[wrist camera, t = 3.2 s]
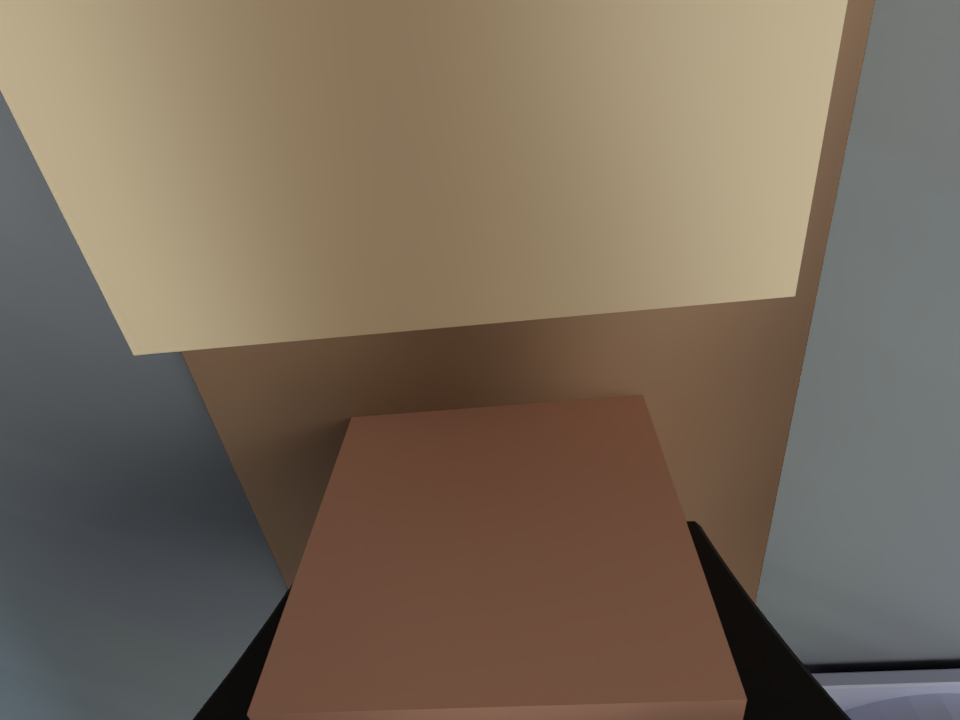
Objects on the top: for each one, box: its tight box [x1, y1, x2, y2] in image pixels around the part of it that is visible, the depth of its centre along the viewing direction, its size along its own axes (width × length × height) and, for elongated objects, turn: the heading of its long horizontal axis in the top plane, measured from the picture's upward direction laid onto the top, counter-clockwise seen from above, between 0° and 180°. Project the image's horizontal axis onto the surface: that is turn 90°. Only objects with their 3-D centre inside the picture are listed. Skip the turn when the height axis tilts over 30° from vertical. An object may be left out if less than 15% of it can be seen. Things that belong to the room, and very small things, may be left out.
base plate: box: [181, 0, 875, 603], centre depth 10 cm, size 10×18×1 cm, turn 7°
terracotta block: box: [247, 395, 747, 720], centre depth 9 cm, size 5×5×5 cm
